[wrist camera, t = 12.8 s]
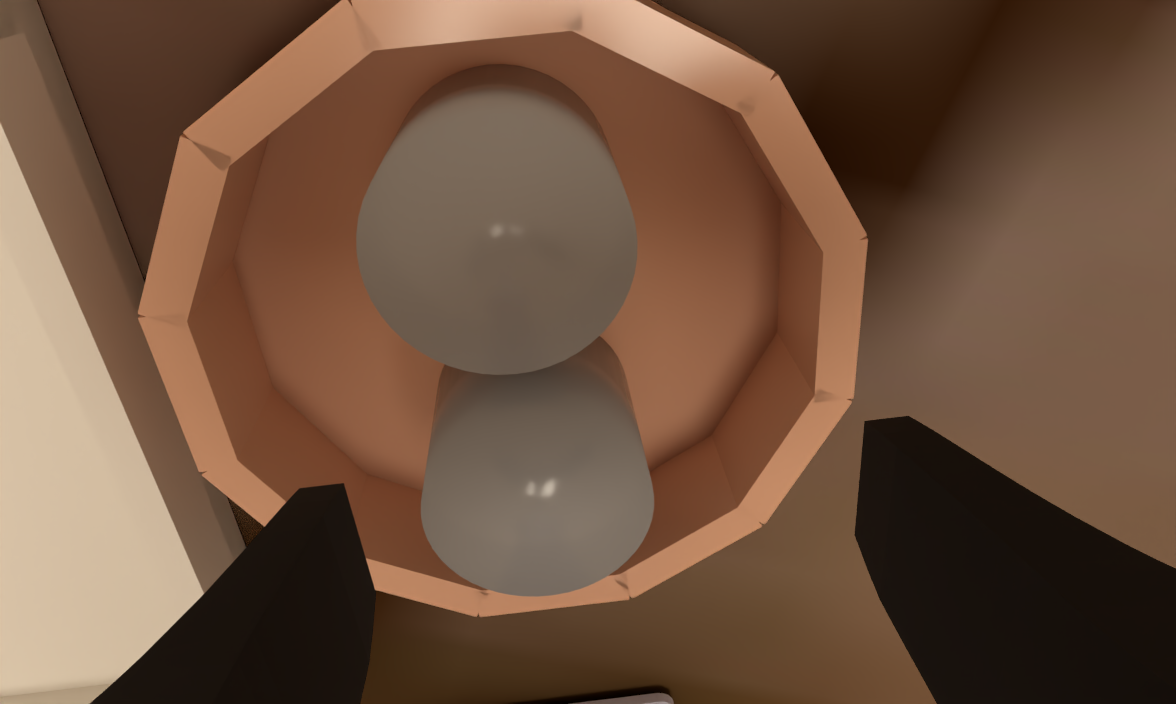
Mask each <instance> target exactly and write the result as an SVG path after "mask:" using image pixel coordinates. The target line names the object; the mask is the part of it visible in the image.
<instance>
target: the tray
mask: <svg viewBox="0 0 1176 704" xmlns="http://www.w3.org/2000/svg"><path fill="white" fill-rule="evenodd" d="M144 285H145V282H144V279H143V277H142V274H141V271H140V269H139V266H138V264H137V261H136V258H135V256H134V253H133V251H132V248H131V245H130V243H129V240H128V238H127V235H126V232H125V230H124V227H123V224H122V222H121V219H120V217H119V214H118V211H117V209H116V206H115V204H114V201H113V198H112V196H111V193H110V190H109V188H108V185H107V183H106V180H105V177H104V175H103V172H102V170H101V167H100V164H99V162H98V159H97V157H96V154H95V151H94V149H93V146H92V143H91V141H90V138H89V136H88V133H87V130H86V128H85V125H84V123H83V120H82V117H81V115H80V112H79V110H78V107H77V104H76V102H75V99H74V96H73V94H72V91H71V89H70V86H69V83H68V81H67V78H66V76H65V73H64V70H63V68H62V65H61V63H60V60H59V57H58V55H57V52H56V49H55V47H54V44H53V42H52V39H51V36H50V34H49V31H48V29H47V26H46V23H45V21H44V18H43V16H42V13H41V10H40V8H39V5H38V2H37V0H0V704H89V703H91V702H92V701H93V700H94V699H95V698H96V697H98V696H99V695H100V694H101V693H102V692H103V691H105V690H106V689H107V688H108V687H109V686H110V685H111V684H112V683H113V682H115V681H116V680H117V679H118V678H119V677H120V676H121V675H122V674H123V673H125V672H126V671H127V670H128V669H129V668H130V667H131V666H132V665H133V664H134V663H135V662H136V661H137V660H138V659H140V658H141V657H142V656H143V655H144V654H145V653H146V652H147V651H148V650H149V649H150V648H151V647H152V646H153V645H154V644H155V643H156V642H157V641H158V640H159V639H160V638H161V637H162V636H163V635H164V634H165V633H166V632H167V631H168V630H169V629H170V628H171V627H172V626H173V625H174V624H175V623H176V622H177V621H178V620H179V619H180V618H181V617H182V616H183V615H184V614H185V613H186V612H187V611H188V610H189V609H190V608H191V607H192V606H193V605H194V604H195V603H196V602H197V601H198V600H199V599H200V597H201V596H202V595H203V594H204V593H205V592H206V591H207V590H208V589H209V588H210V587H211V586H212V585H213V583H214V582H215V581H216V580H217V579H218V578H219V577H220V576H221V575H222V574H223V572H224V571H225V570H226V569H227V568H228V567H229V566H230V565H231V564H232V563H233V562H234V560H235V559H236V558H237V557H238V556H239V555H240V554H241V553H242V552H243V551H244V549H245V548H246V546H245V543H244V540H243V538H242V535H241V533H240V530H239V527H238V525H237V522H236V520H235V517H234V514H233V512H232V509H231V507H230V504H229V501H228V499H227V496H226V495H225V494H224V493H223V492H221V491H220V490H219V489H218V488H216V487H215V486H214V485H213V484H211V483H210V482H209V481H208V480H207V479H205V478H204V477H203V476H202V473H203V472H199V471H198V468H197V466H196V463H195V461H194V458H193V456H192V453H191V451H190V448H189V446H188V443H187V441H186V438H185V436H184V433H183V431H182V428H181V425H180V423H179V420H178V418H177V415H176V413H175V410H174V408H173V405H172V403H171V400H170V398H169V395H168V393H167V390H166V388H165V385H164V383H163V380H162V378H161V375H160V373H159V370H158V368H157V365H156V362H155V360H154V357H153V355H152V352H151V350H150V347H149V345H148V342H147V340H146V337H145V335H144V332H143V330H142V327H141V325H140V322H139V320H138V317H139V316H140V315H139V314H138V310H139V305H140V301H141V297H142V293H143V289H144Z"/></svg>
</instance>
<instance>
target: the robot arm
mask: <svg viewBox="0 0 1176 704" xmlns="http://www.w3.org/2000/svg"><path fill="white" fill-rule="evenodd" d="M855 537H856V540H857V542H858V545H859V548H860V550H861V553H862V556H863V558H864V561H865V564H866V566H867V569H868V571H869V574H870V576H871V579H872V581H873V584H874V586H875V589H876V591H877V594H878V596H879V598H880V601H881V602H882V604H883V606H884V608H885V610H886V612H887V614H888V616H889V617H890V619H891V621H892V623H893V625H894V627H895V628H896V630H897V632H898V634H899V636H900V638H901V639H902V641H903V643H904V645H905V647H906V649H907V650H908V652H909V654H910V656H911V658H912V659H913V661H914V663H915V665H916V667H917V668H918V670H919V672H920V674H921V676H922V677H923V679H924V681H925V683H926V685H927V686H928V688H929V690H930V692H931V694H932V695H933V697H934V699H935V701H936V703H937V704H1176V569H1175V568H1173V567H1171V566H1169V565H1167V564H1165V563H1163V562H1160V561H1158V560H1156V559H1154V558H1152V557H1150V556H1148V555H1146V554H1144V553H1142V552H1140V551H1138V550H1136V549H1134V548H1132V547H1130V546H1128V545H1126V544H1124V543H1122V542H1120V541H1119V540H1117V539H1115V538H1113V537H1111V536H1109V535H1108V534H1106V533H1104V532H1102V531H1100V530H1098V529H1096V528H1095V527H1093V526H1091V525H1089V524H1087V523H1085V522H1084V521H1082V520H1080V519H1078V518H1076V517H1074V516H1073V515H1071V514H1069V513H1067V512H1066V511H1064V510H1062V509H1060V508H1059V507H1057V506H1055V505H1053V504H1052V503H1050V502H1048V501H1047V500H1045V499H1043V498H1041V497H1040V496H1038V495H1036V494H1035V493H1033V492H1031V491H1030V490H1028V489H1026V488H1025V487H1023V486H1021V485H1020V484H1018V483H1016V482H1015V481H1013V480H1012V479H1010V478H1008V477H1007V476H1005V475H1003V474H1002V473H1000V472H999V471H997V470H995V469H994V468H992V467H991V466H989V465H987V464H986V463H984V462H983V461H981V460H979V459H978V458H976V457H975V456H973V455H972V454H970V453H968V452H967V451H965V450H964V449H962V448H960V447H959V446H957V445H956V444H954V443H952V442H951V441H949V440H948V439H946V438H945V437H943V436H941V435H940V434H938V433H937V432H935V431H933V430H932V429H930V428H928V427H927V426H925V425H923V424H922V423H920V422H918V421H916V420H915V419H913V418H911V417H909V416H904V417H895V418H887V419H879V420H870V421H865V424H864V435H863V446H862V458H861V469H860V480H859V492H858V503H857V515H856V526H855ZM375 600H376V591H375V588H374V585H373V581H372V578H371V574H370V571H369V567H368V564H367V561H366V557H365V554H364V550H363V547H362V544H361V540H360V537H359V533H358V530H357V526H356V523H355V520H354V516H353V513H352V509H351V506H350V503H349V499H348V496H347V492H346V489H345V485H344V483H340V484H331V485H323V486H314V487H306V488H299V489H298V490H297V491H296V492H295V493H294V494H293V495H292V496H291V498H290V499H289V500H288V501H287V502H286V503H285V504H284V505H283V506H282V507H281V509H280V510H279V511H278V512H277V513H276V514H275V515H274V517H273V518H272V519H271V520H270V521H269V522H268V523H267V524H266V526H265V527H264V528H263V529H262V530H261V531H260V532H259V534H258V535H257V536H256V537H255V538H254V539H253V540H252V542H251V543H250V544H249V545H248V546H247V547H246V548H245V549H244V551H243V552H242V553H241V554H240V555H239V556H238V557H237V558H236V559H235V560H234V562H233V563H232V564H231V565H230V566H229V567H228V568H227V569H226V570H225V571H224V572H223V574H222V575H221V576H220V577H219V578H218V579H217V580H216V581H215V582H214V583H213V585H212V586H211V587H210V588H209V589H208V590H207V591H206V592H205V593H204V594H203V595H202V596H201V597H200V599H199V600H198V601H197V602H196V603H195V604H194V605H193V606H192V607H191V608H190V609H189V610H188V611H187V612H186V613H185V614H184V615H183V616H182V617H181V618H180V619H179V620H178V621H177V622H176V623H175V624H174V625H173V626H172V627H171V628H170V629H169V630H168V631H167V632H166V633H165V634H164V635H163V636H162V637H161V638H160V639H159V640H158V641H157V642H156V643H155V644H154V645H153V646H152V647H151V648H150V649H149V650H148V651H147V652H146V653H145V654H144V655H143V656H142V657H141V658H140V659H138V660H137V661H136V662H135V663H134V664H133V665H132V666H131V667H130V668H129V669H128V670H127V671H126V672H125V673H123V674H122V675H121V676H120V677H119V678H118V679H117V680H116V681H115V682H113V683H112V684H111V685H110V686H109V687H108V688H107V689H106V690H105V691H103V692H102V693H101V694H100V695H99V696H98V697H96V698H95V699H94V700H93V701H92V702H91V703H89V704H360V702H361V698H362V693H363V689H364V684H365V680H366V675H367V671H368V666H369V660H370V651H371V642H372V633H373V622H374V611H375ZM570 704H674V702H673V699H672V698H671V697H670V696H669V695H667V694H664V693H652V694H644V695H636V696H628V697H619V698H611V699H603V700H595V701H586V702H578V703H570Z"/></svg>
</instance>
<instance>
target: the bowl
mask: <svg viewBox="0 0 1176 704" xmlns="http://www.w3.org/2000/svg"><path fill="white" fill-rule="evenodd" d="M489 64H507V65H517V66H522V67H526V68H530V69H534V70H537V71H539V72H542V73H544V74H547V75H549V76H551V77H553V78H554V79H556V80H558V81H560V82H562V83H563V84H564V85H566V86H567V87H568V88H570V89H571V90H572V91H574V92H575V93H576V94H577V95H578V96H579V97H580V98H581V99H582V100H583V101H584V102H585V103H586V105H587V106H588V107H589V108H590V110H591V111H592V112H593V113H594V115H595V117H596V118H597V120H598V122H599V124H600V125H601V127H602V129H603V132H604V134H605V136H606V139H607V141H608V144H609V147H610V150H611V153H612V155H613V158H614V161H615V164H616V167H617V169H618V172H619V175H620V178H621V181H622V183H623V186H624V189H625V192H626V195H627V197H628V200H629V203H630V206H631V209H632V213H633V217H634V220H635V225H636V233H637V262H636V268H635V274H634V278H633V281H632V284H631V288H630V291H629V293H628V295H627V297H626V299H625V302H624V304H623V306H622V307H621V309H620V310H619V312H618V314H617V315H616V317H615V318H614V320H613V321H612V322H611V323H610V325H609V326H608V327H607V328H606V329H605V331H604V332H603V333H602V334H601V335H600V337H602V338H603V339H604V340H605V341H606V342H607V343H608V344H609V345H610V346H611V348H612V349H613V351H614V352H615V353H616V355H617V356H618V358H619V360H620V362H621V364H622V366H623V369H624V372H625V375H626V379H627V383H628V387H629V391H630V395H631V399H632V403H633V407H634V411H635V416H636V420H637V424H638V428H639V432H640V436H641V440H642V444H643V448H644V452H645V457H646V461H647V465H648V469H649V473H650V477H651V481H652V486H653V492H654V511H653V517H652V521H651V524H650V527H649V530H648V532H647V534H646V536H645V538H644V540H643V542H642V543H641V545H640V546H639V548H638V549H637V550H636V552H635V553H634V554H633V555H632V556H631V557H630V558H629V559H628V561H627V562H625V563H624V564H623V565H622V566H621V567H620V568H618V569H617V570H616V571H614V572H613V573H611V574H610V575H608V576H607V577H605V578H603V579H601V580H600V581H598V582H596V583H594V584H591V585H589V586H586V587H584V588H581V589H578V590H575V591H571V592H568V593H563V594H557V595H551V596H540V597H527V596H515V595H508V594H503V593H498V592H495V591H491V590H488V589H485V588H482V587H480V586H478V585H476V584H473V583H471V582H469V581H468V580H466V579H464V578H462V577H461V576H459V575H458V574H457V573H455V572H454V571H453V570H451V569H450V568H449V567H448V566H447V565H446V564H445V563H444V562H443V561H442V560H441V559H440V558H439V557H438V555H437V554H436V553H435V551H434V550H433V549H432V547H431V545H430V543H429V541H428V539H427V537H426V534H425V532H424V529H423V525H422V519H421V498H422V491H423V484H424V477H425V471H426V464H427V457H428V450H429V443H430V436H431V429H432V423H433V416H434V409H435V402H436V395H437V389H438V382H439V378H440V375H441V372H442V369H443V367H444V365H445V364H443V363H441V362H438V361H436V360H434V359H432V358H430V357H428V356H426V355H425V354H423V353H421V352H419V351H418V350H416V349H415V348H414V347H412V346H411V345H410V344H408V343H407V342H406V341H404V340H403V339H402V338H401V337H400V336H399V335H398V334H397V333H396V332H395V331H394V330H393V329H392V328H391V327H390V326H389V325H388V324H387V322H386V321H385V320H384V319H383V318H382V316H381V315H380V313H379V312H378V310H377V309H376V307H375V306H374V304H373V302H372V301H371V299H370V296H369V294H368V292H367V290H366V288H365V286H364V283H363V279H362V276H361V273H360V270H359V264H358V258H357V251H356V232H357V224H358V217H359V213H360V209H361V206H362V202H363V199H364V197H365V195H366V192H367V190H368V188H369V185H370V183H371V181H372V179H373V178H374V176H375V174H376V172H377V170H378V168H379V166H380V164H381V162H382V160H383V158H384V157H385V155H386V153H387V151H388V149H389V147H390V145H391V143H392V141H393V139H394V137H395V136H396V134H397V132H398V130H399V128H400V126H401V124H402V122H403V120H404V119H405V117H406V115H407V114H408V112H409V111H410V109H411V108H412V106H413V105H414V104H415V103H416V102H417V100H418V99H419V98H420V97H421V96H422V95H423V94H424V93H425V92H426V91H428V90H429V89H430V88H431V87H432V86H434V85H435V84H437V83H438V82H440V81H441V80H443V79H444V78H446V77H448V76H450V75H452V74H454V73H457V72H459V71H462V70H465V69H468V68H472V67H476V66H482V65H489ZM183 133H184V134H182V135H181V136H180V139H179V143H178V147H177V152H176V156H175V160H174V164H173V168H172V172H171V177H170V181H169V185H168V189H167V193H166V197H165V201H164V206H163V210H162V214H161V218H160V222H159V226H158V231H157V235H156V239H155V243H154V247H153V251H152V256H151V260H150V264H149V268H148V272H147V276H146V280H145V285H144V289H143V293H142V297H141V301H140V305H139V310H138V314H139V315H140V316H139V317H138V320H139V322H140V325H141V327H142V330H143V332H144V335H145V337H146V340H147V342H148V345H149V347H150V350H151V352H152V355H153V357H154V360H155V362H156V365H157V368H158V370H159V373H160V375H161V378H162V380H163V383H164V385H165V388H166V390H167V393H168V395H169V398H170V400H171V403H172V405H173V408H174V410H175V413H176V415H177V418H178V420H179V423H180V425H181V428H182V431H183V433H184V436H185V438H186V441H187V443H188V446H189V448H190V451H191V453H192V456H193V458H194V461H195V463H196V466H197V468H198V471H199V472H203V473H202V476H203V477H204V478H205V479H207V480H208V481H209V482H210V483H211V484H213V485H214V486H215V487H216V488H218V489H219V490H220V491H221V492H223V493H224V494H225V495H226V496H227V497H229V498H230V499H231V500H232V501H234V502H235V503H236V504H237V505H239V506H240V507H241V508H242V509H243V510H245V511H246V512H247V513H248V514H250V515H251V516H252V517H253V518H254V519H256V520H257V521H258V522H259V523H261V524H262V525H263V526H264V527H265V526H266V524H267V523H268V522H269V521H270V520H271V519H272V518H273V517H274V515H275V514H276V513H277V512H278V511H279V510H280V509H281V507H282V506H283V505H284V504H285V503H286V502H287V501H288V500H289V499H290V498H291V496H292V495H293V494H294V493H295V492H296V491H297V490H298V489H299V488H306V487H314V486H323V485H331V484H340V483H344V485H345V489H346V492H347V496H348V499H349V503H350V506H351V509H352V513H353V516H354V520H355V523H356V526H357V530H358V533H359V537H360V540H361V544H362V547H363V550H364V554H365V557H366V561H367V564H368V567H369V571H370V574H371V578H372V581H373V585H374V588H375V590H378V591H382V592H385V593H389V594H393V595H397V596H400V597H404V598H408V599H411V600H415V601H419V602H423V603H426V604H430V605H434V606H437V607H441V608H445V609H449V610H452V611H456V612H460V613H463V614H467V615H471V616H475V617H477V615H478V613H479V616H480V617H486V616H494V615H503V614H511V613H519V612H528V611H536V610H545V609H553V608H562V607H570V606H579V605H587V604H596V603H604V602H612V601H621V600H629V595H630V596H631V597H632V598H634V597H636V596H638V595H640V594H642V593H643V592H645V591H647V590H649V589H650V588H652V587H654V586H656V585H658V584H659V583H661V582H663V581H665V580H667V579H668V578H670V577H672V576H674V575H676V574H677V573H679V572H681V571H683V570H685V569H686V568H688V567H690V566H692V565H694V564H695V563H697V562H699V561H701V560H703V559H704V558H706V557H708V556H710V555H712V554H713V553H715V552H717V551H719V550H721V549H722V548H724V547H726V546H728V545H730V544H731V543H733V542H735V541H737V540H739V539H740V538H742V537H744V536H746V535H748V534H749V533H751V532H753V531H755V530H757V529H758V528H760V527H762V524H761V523H764V524H765V523H766V522H767V521H768V519H769V518H770V516H771V515H772V514H773V512H774V511H775V509H776V508H777V507H778V505H779V504H780V502H781V501H782V500H783V498H784V497H785V495H786V494H787V493H788V491H789V490H790V488H791V487H792V486H793V484H794V483H795V481H796V480H797V479H798V477H799V476H800V474H801V473H802V472H803V470H804V469H805V467H806V466H807V465H808V463H809V462H810V460H811V459H812V458H813V456H814V455H815V453H816V452H817V451H818V449H819V448H820V446H821V445H822V444H823V442H824V441H825V439H826V438H827V437H828V435H829V434H830V432H831V431H832V430H833V428H834V427H835V425H836V424H837V422H838V421H839V420H840V418H841V417H842V415H843V414H844V413H845V411H846V410H847V408H848V407H849V406H850V404H851V403H852V400H851V399H852V398H854V389H855V378H856V367H857V355H858V344H859V333H860V322H861V311H862V300H863V289H864V277H865V266H866V255H867V244H868V239H867V238H866V237H865V236H867V234H866V232H865V230H864V229H863V227H862V225H861V223H860V221H859V220H858V218H857V216H856V214H855V212H854V211H853V209H852V207H851V205H850V203H849V202H848V200H847V198H846V196H845V194H844V193H843V191H842V189H841V187H840V185H839V183H838V182H837V180H836V178H835V176H834V174H833V173H832V171H831V169H830V167H829V165H828V164H827V162H826V160H825V158H824V156H823V155H822V153H821V151H820V149H819V147H818V146H817V144H816V142H815V140H814V138H813V137H812V135H811V133H810V131H809V129H808V128H807V126H806V124H805V122H804V120H803V118H802V117H801V115H800V113H799V111H798V109H797V108H796V106H795V104H794V102H793V100H792V99H791V97H790V95H789V93H788V91H787V90H786V88H785V86H784V84H783V82H782V81H781V79H780V77H779V75H778V74H776V73H775V71H773V70H772V69H770V68H769V67H768V66H766V65H765V64H763V63H762V62H760V61H759V60H757V59H756V58H754V57H753V56H752V55H750V54H749V53H747V52H746V51H744V50H743V49H741V48H740V47H738V46H737V45H735V44H733V43H731V42H729V41H728V40H726V39H724V38H722V37H720V36H718V35H716V34H714V33H712V32H710V31H708V30H706V29H704V28H702V27H700V26H698V25H696V24H694V23H692V22H691V21H689V20H687V19H685V18H683V17H681V16H679V15H677V14H675V13H673V12H671V11H669V10H667V9H666V8H664V7H662V6H661V5H659V4H657V3H656V2H654V1H652V0H341V1H340V2H339V3H338V4H336V5H335V6H334V7H333V8H332V9H330V10H329V11H328V12H327V13H326V14H324V15H323V16H322V17H321V18H320V19H318V20H317V21H316V22H315V23H313V24H312V25H311V26H310V27H309V28H307V29H306V30H305V31H304V32H303V33H301V34H300V35H299V36H298V37H297V38H295V39H294V40H293V41H292V42H291V43H289V44H288V45H287V46H286V47H285V48H283V49H282V50H281V51H280V52H279V53H277V54H276V55H275V56H274V57H273V58H271V59H270V60H269V61H268V62H267V63H265V64H264V65H263V66H262V67H261V68H259V69H258V70H257V71H256V72H254V73H253V74H252V75H251V76H250V77H248V78H247V79H246V80H245V81H244V82H242V83H241V84H240V85H239V86H238V87H236V88H235V89H234V90H233V91H232V92H230V93H229V94H228V95H227V96H226V97H224V98H223V99H222V100H221V101H220V102H218V103H217V104H216V105H215V106H214V107H212V108H211V109H210V110H209V111H208V112H206V113H205V114H204V115H203V116H202V117H200V118H199V119H198V120H197V121H195V122H194V123H193V124H192V125H191V126H189V127H188V128H187V129H186V130H185V131H183Z"/></svg>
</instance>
